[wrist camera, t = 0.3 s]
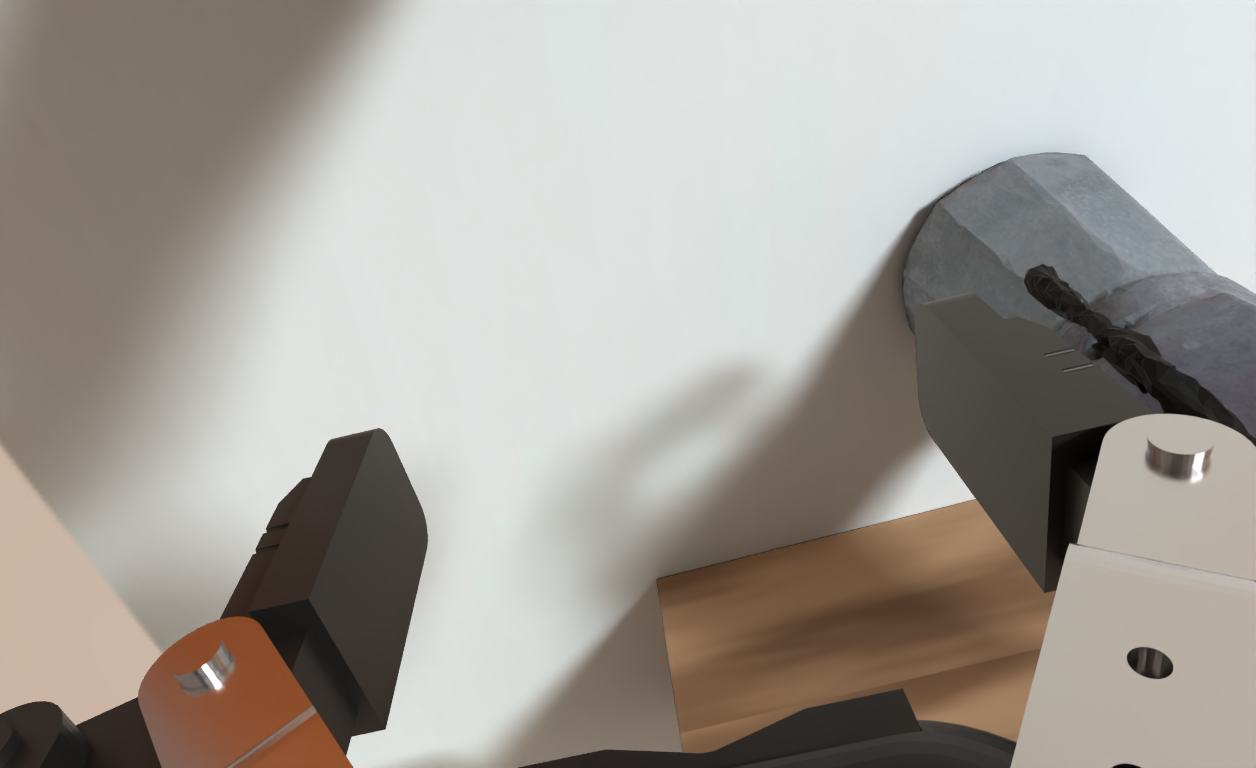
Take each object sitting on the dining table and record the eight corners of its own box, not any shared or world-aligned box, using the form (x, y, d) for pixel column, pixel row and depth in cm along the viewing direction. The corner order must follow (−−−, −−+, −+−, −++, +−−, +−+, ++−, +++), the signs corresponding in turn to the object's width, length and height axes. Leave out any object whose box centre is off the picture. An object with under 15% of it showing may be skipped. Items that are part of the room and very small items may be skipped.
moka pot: (1033, 426, 36) (1458, 907, 19) (772, 260, 31) (1043, 727, 14) (1213, 258, 32) (1946, 677, 15) (950, 34, 27) (1634, 298, 10)
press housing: (656, 579, 39) (711, 945, 26) (1021, 487, 38) (1281, 823, 24) (702, 710, 45) (767, 1065, 32) (1020, 635, 44) (1229, 971, 30)
